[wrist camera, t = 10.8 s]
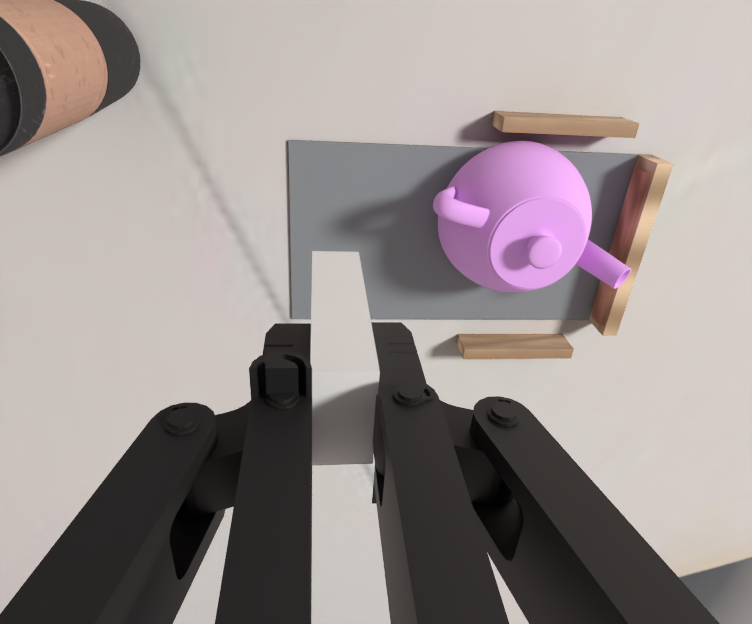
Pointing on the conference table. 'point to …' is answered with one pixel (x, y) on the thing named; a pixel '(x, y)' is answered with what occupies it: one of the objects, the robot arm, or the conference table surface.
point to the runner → (424, 230)
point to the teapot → (521, 220)
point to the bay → (625, 243)
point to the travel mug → (59, 66)
